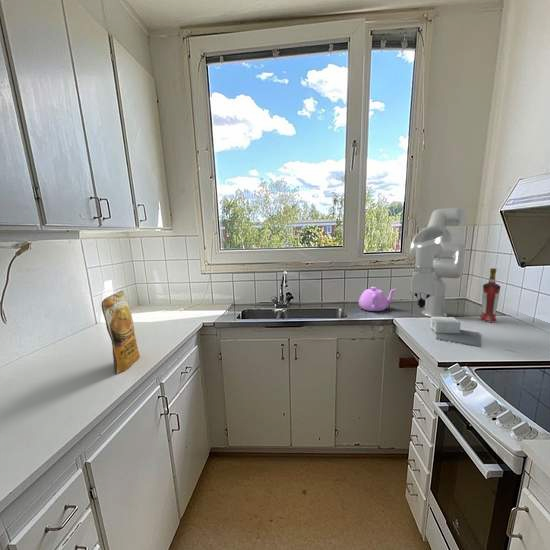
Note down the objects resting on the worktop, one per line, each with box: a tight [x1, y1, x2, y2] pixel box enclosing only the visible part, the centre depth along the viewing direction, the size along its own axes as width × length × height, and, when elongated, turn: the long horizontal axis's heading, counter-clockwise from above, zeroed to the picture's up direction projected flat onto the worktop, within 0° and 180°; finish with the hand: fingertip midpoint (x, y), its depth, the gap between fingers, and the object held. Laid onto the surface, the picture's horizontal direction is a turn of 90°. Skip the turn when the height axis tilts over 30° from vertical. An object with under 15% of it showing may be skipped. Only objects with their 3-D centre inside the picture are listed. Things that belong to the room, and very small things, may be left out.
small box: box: [429, 316, 461, 334], centre depth 137 cm, size 8×6×10 cm
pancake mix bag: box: [101, 290, 141, 374], centre depth 109 cm, size 7×19×28 cm, turn 0°
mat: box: [435, 329, 481, 348], centre depth 131 cm, size 18×16×1 cm
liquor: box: [480, 267, 501, 323], centre depth 150 cm, size 7×7×28 cm
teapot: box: [358, 286, 397, 312], centre depth 177 cm, size 22×22×14 cm
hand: (421, 307), depth 139 cm, fingers closed
